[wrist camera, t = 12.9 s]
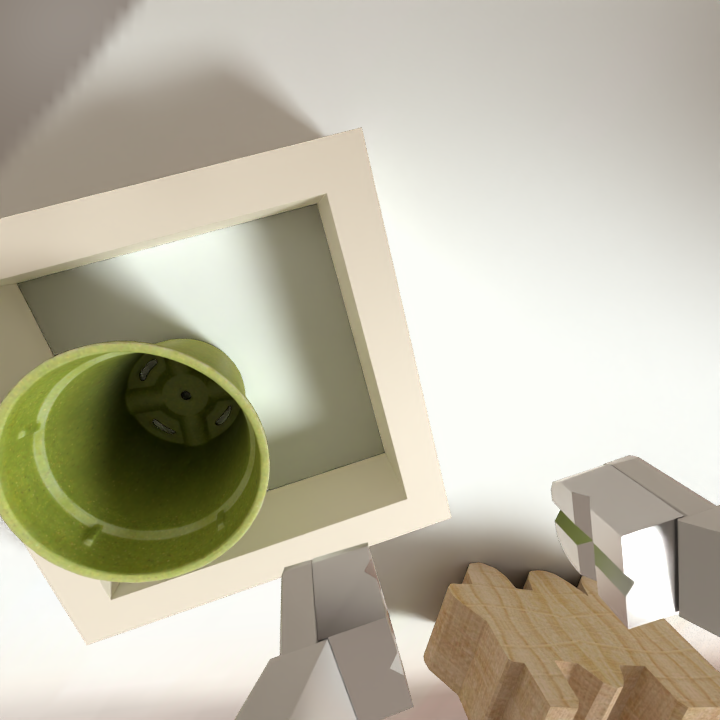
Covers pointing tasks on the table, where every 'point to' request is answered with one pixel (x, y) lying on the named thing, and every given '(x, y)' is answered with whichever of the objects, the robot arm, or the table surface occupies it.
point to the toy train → (562, 655)
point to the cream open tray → (369, 328)
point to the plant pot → (131, 460)
